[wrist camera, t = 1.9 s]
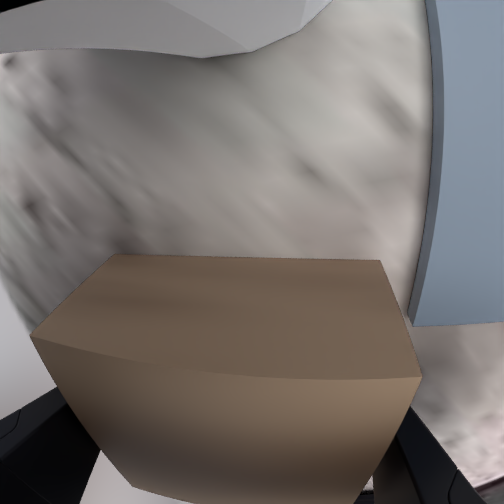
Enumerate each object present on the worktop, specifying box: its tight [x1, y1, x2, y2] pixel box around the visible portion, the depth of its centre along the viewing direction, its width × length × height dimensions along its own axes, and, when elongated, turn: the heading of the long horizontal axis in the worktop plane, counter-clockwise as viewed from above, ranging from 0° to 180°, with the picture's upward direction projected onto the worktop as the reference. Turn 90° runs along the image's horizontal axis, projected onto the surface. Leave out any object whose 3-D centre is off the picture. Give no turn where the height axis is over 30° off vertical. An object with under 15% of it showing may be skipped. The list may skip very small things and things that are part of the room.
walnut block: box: [29, 254, 423, 504], centre depth 8 cm, size 7×7×4 cm
